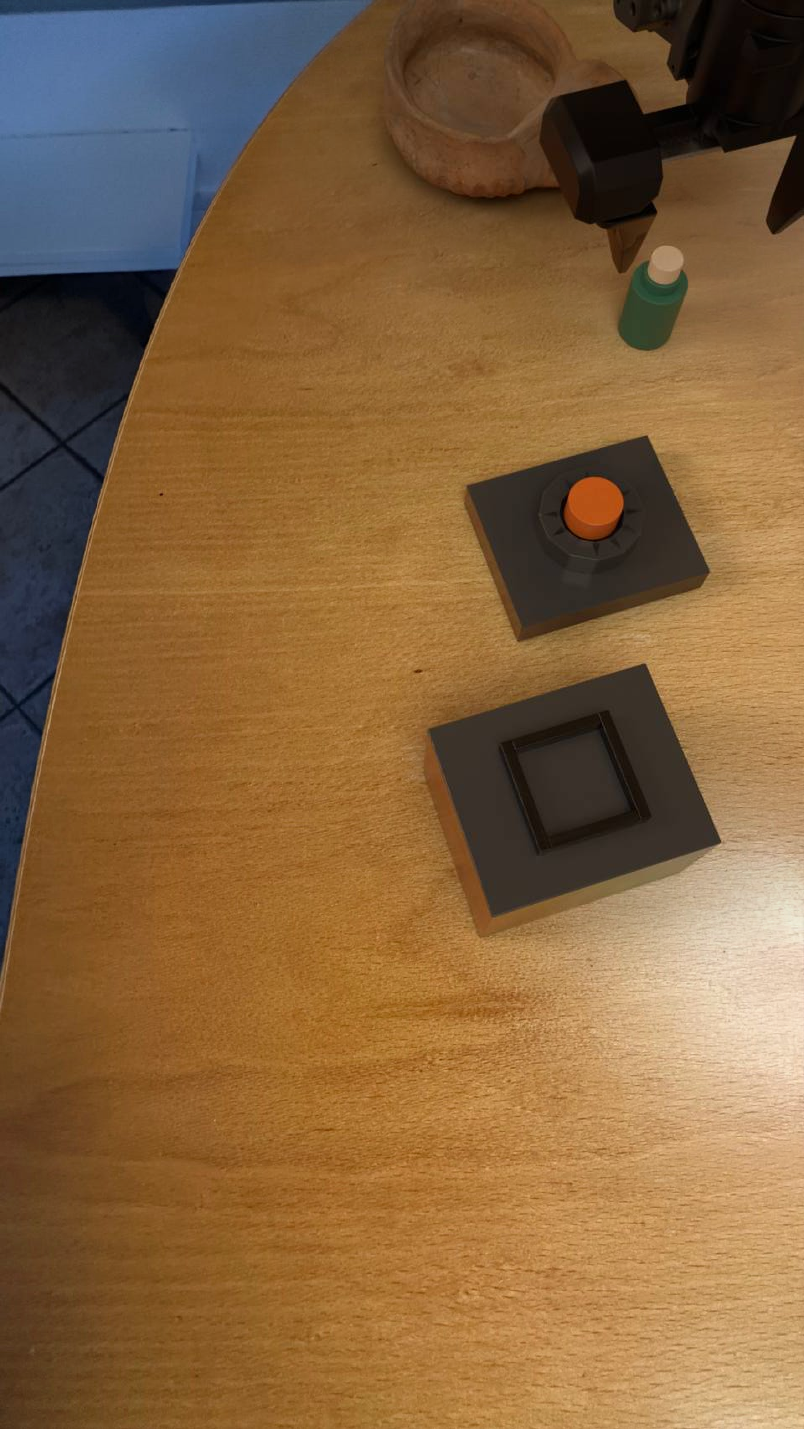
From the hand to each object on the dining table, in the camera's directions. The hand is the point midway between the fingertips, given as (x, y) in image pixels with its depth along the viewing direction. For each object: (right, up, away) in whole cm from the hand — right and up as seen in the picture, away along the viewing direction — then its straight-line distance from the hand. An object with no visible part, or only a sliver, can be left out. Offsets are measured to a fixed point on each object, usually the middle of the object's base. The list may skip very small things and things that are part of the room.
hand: (695, 247), depth 59 cm
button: (-5, -14, +4) cm, 16 cm away
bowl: (-9, +14, +17) cm, 24 cm away
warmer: (-8, -32, +1) cm, 33 cm away
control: (-5, -16, +7) cm, 18 cm away
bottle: (0, 0, +12) cm, 12 cm away
